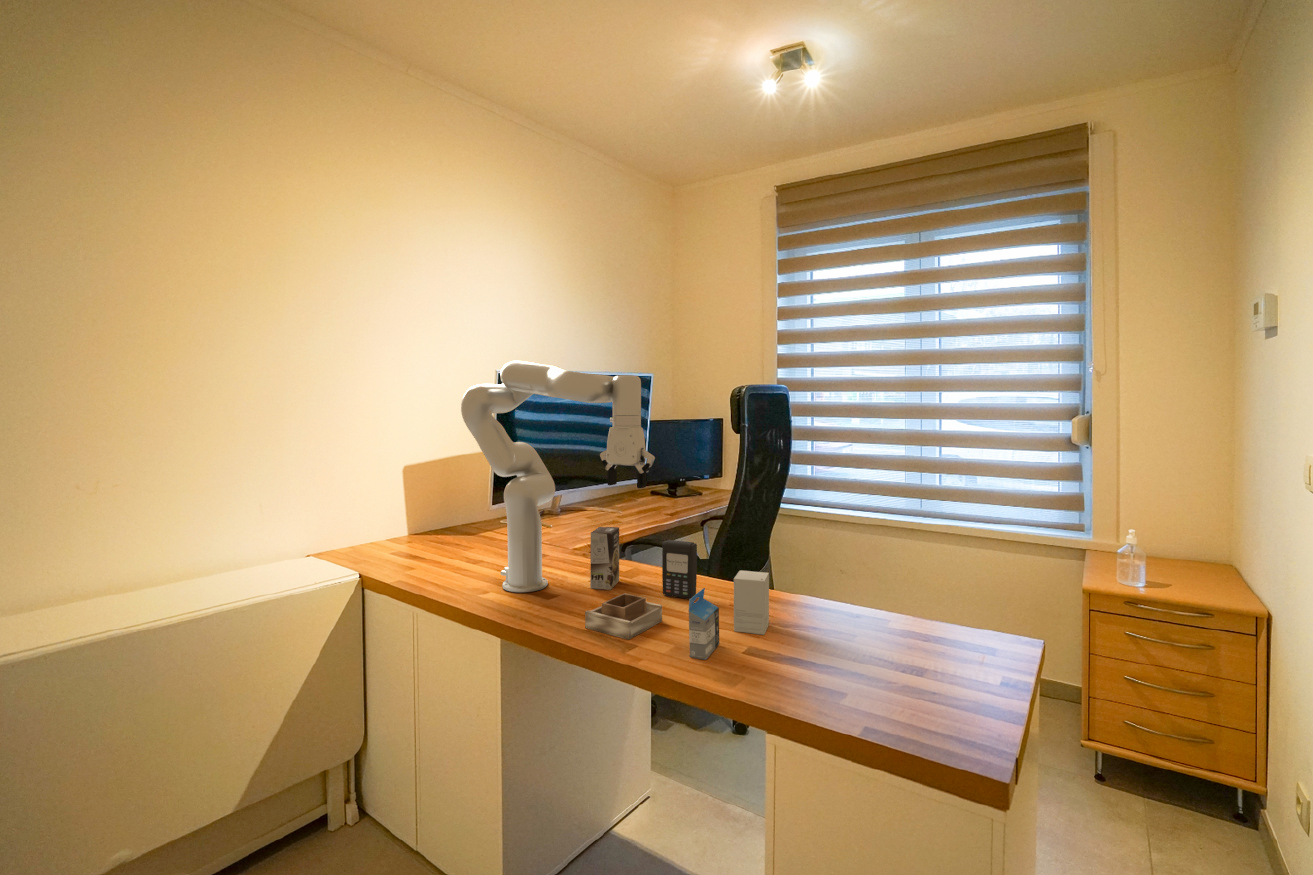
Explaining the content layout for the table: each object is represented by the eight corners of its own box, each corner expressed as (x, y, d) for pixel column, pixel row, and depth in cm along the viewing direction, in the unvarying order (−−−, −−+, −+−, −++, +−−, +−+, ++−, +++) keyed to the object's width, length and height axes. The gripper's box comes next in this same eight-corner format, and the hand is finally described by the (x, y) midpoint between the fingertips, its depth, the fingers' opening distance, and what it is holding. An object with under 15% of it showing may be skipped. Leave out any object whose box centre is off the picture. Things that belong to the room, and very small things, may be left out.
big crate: (585, 627, 141) (585, 611, 141) (620, 610, 153) (620, 595, 152) (628, 639, 134) (628, 622, 134) (662, 621, 146) (662, 605, 146)
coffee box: (611, 590, 169) (611, 533, 168) (589, 588, 171) (589, 532, 170) (620, 580, 178) (620, 526, 177) (599, 579, 180) (599, 525, 179)
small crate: (601, 624, 142) (601, 603, 141) (624, 612, 149) (624, 592, 149) (623, 629, 138) (623, 608, 138) (645, 618, 146) (645, 597, 145)
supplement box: (769, 624, 144) (770, 572, 143) (764, 635, 137) (765, 581, 136) (739, 620, 147) (739, 569, 146) (732, 631, 140) (733, 577, 139)
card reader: (660, 596, 164) (660, 541, 163) (666, 591, 168) (666, 538, 167) (692, 600, 161) (692, 545, 160) (697, 596, 164) (697, 541, 163)
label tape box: (706, 660, 124) (706, 601, 123) (687, 657, 126) (688, 599, 125) (720, 644, 132) (720, 589, 131) (702, 641, 134) (702, 587, 133)
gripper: (592, 421, 162) (592, 485, 163) (645, 423, 152) (645, 490, 153) (609, 421, 168) (609, 482, 169) (661, 422, 158) (661, 487, 159)
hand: (626, 486), depth 161 cm, fingers open, 9 cm apart
